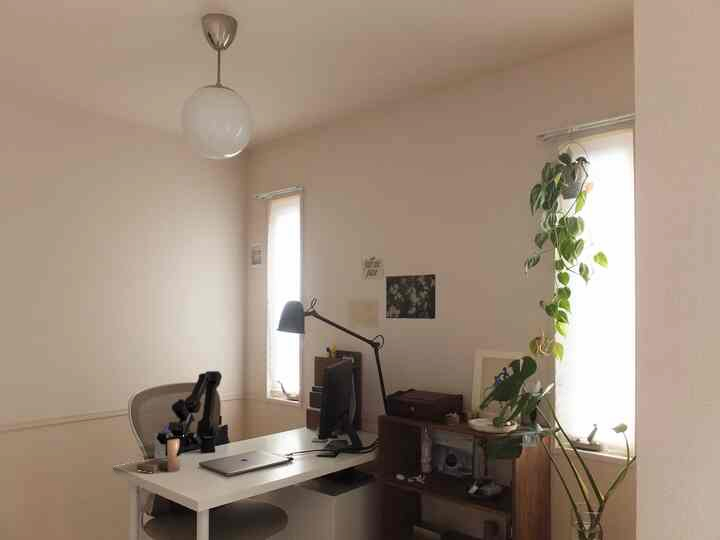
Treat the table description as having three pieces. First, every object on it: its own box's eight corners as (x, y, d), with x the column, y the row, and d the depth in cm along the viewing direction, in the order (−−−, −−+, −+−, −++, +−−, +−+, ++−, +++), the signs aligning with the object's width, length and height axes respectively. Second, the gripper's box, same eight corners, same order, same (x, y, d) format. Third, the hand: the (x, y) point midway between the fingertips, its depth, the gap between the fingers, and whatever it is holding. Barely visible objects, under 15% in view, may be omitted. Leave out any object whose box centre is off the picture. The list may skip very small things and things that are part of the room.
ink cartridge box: (179, 456, 267) (178, 425, 268) (173, 459, 262) (172, 427, 263) (160, 455, 269) (160, 425, 270) (154, 458, 264) (153, 427, 265)
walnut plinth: (155, 465, 251) (155, 458, 251) (171, 467, 247) (171, 460, 247) (137, 471, 242) (137, 464, 242) (153, 473, 238) (153, 466, 238)
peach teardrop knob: (180, 468, 244) (179, 438, 246) (179, 471, 240) (178, 440, 241) (168, 469, 243) (167, 439, 244) (167, 472, 238) (166, 441, 240)
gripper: (158, 414, 249) (144, 445, 237) (196, 414, 245) (184, 445, 234) (167, 428, 256) (154, 459, 244) (205, 428, 253) (194, 459, 241)
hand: (171, 455), depth 241 cm, fingers closed on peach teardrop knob, 5 cm apart
